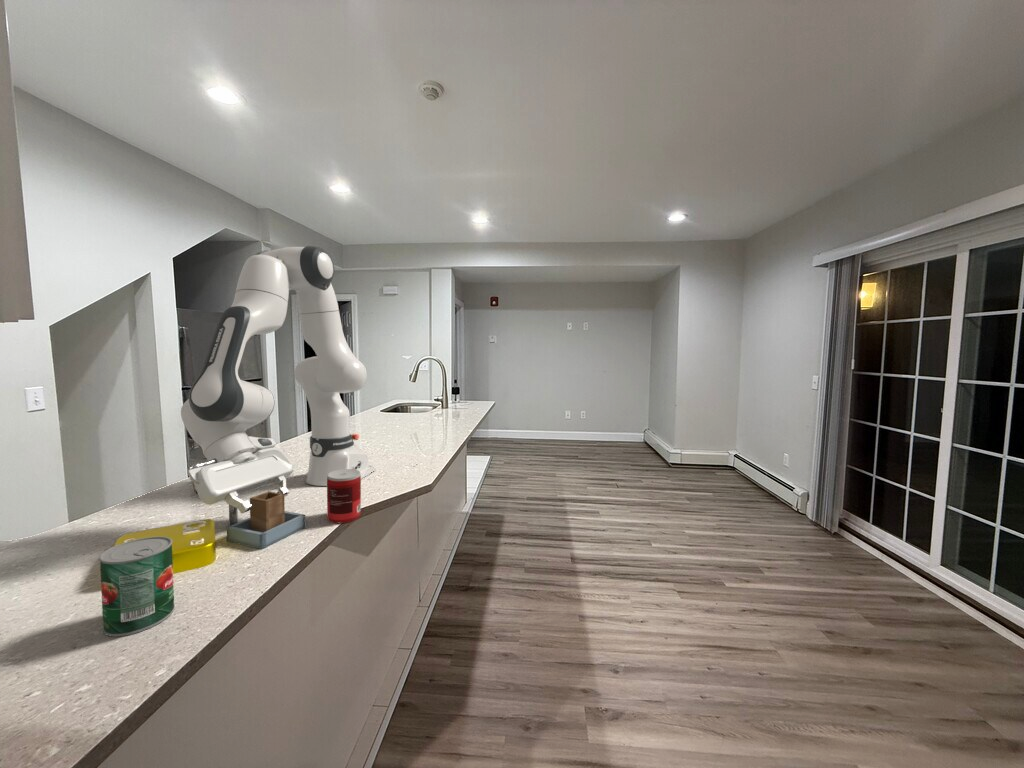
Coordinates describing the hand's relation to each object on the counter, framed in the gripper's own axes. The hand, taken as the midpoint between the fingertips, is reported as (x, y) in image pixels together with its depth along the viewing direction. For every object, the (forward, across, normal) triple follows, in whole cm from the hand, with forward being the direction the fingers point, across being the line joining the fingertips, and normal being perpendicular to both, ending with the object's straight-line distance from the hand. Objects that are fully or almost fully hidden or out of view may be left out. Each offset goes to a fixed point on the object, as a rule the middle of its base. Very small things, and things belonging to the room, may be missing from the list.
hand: (267, 502), depth 88 cm
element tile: (0, -15, +11) cm, 19 cm away
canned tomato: (+10, -28, 0) cm, 29 cm away
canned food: (+12, +13, -1) cm, 18 cm away
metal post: (-3, 0, +13) cm, 13 cm away
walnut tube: (+5, 0, +4) cm, 6 cm away
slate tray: (+5, 0, +5) cm, 7 cm away
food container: (-21, +15, +31) cm, 41 cm away
